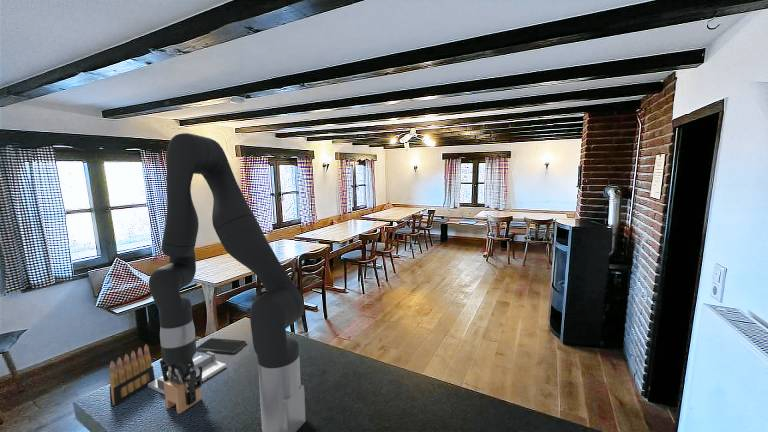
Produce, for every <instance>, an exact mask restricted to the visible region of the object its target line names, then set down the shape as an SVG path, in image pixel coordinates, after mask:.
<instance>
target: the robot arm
mask: <svg viewBox="0 0 768 432" xmlns="http://www.w3.org/2000/svg"><path fill="white" fill-rule="evenodd" d="M194 174H197V175H201V176H202V177H203V178H204V180H205V181H206V183H207V185H208V187H209V189H210V192H211V193H212V198H213V201H212V202H213V203H212V204H213V205H212V215H211V216H212V217H211V218H212V219H211V221H212V227H213V229H214V230H215V233H216V236H217V237H218V240H219V241H220V244H221V245H222V246H223V248H224V250H225V251H226V252H227V253H228V255H230V256H231V257H232V258H233V259H235V261H237V262H239V263H240V264H242V265H243V266H244V267H246V268H247V269H248V270H250V271H251V272H252V273H253V274H254V275H255V276H256V277H257V278H258V279H259V281H260V282H261V284H262V286H263V288H264V289H265V291H266V292H265V293H263V294H261V295H260V296H258V297H256V298H255V299H254V300H253V301H252V304H251V306H250V310H249V322H250V329H251V338H252V347H253V349H254V351H255V354H256V357H257V363H258V364H257V366H258V384H259V385H258V386H259V401H260V402H259V403H260V404H259V405H260V419H261V431H262V432H298V430H299V429H300V428H301V427H302V426H303V425H304V424H305V423H306V402H305V401H306V400H305V399H306V398H305V385H303V384H301V364H300V345H299V343H298V341H297V340H296V339H295V338H292V337H290V336H289V337H287V333H286V332H287V331H286V329H288V327H290V326H292V325H293V324H295V323H296V322H297V321H298V320H300V319H301V318H302V316H303V315H304V311H305V304H304V300H303V297H302V294H301V293H300V291H299V289H298V288H297V286H296V285H295V283H294V282H293V280H292V279H291V277H290V276H289V274H288V273H287V271H286V270H285V269H284V267H283V265H282V264H281V262H280V261H279V259H278V257H277V255H276V253H275V252H274V250H273V248H272V246H271V245H270V243H269V241H268V240H267V238H266V236H265V234H264V231H263V230H262V228H261V225H260V224H259V222H258V220H257V218H256V216H255V214H254V212H253V211H252V209H251V207H250V206H249V204H248V202H247V200H246V198H245V196H244V193H243V192H242V189H241V188H240V186H239V184H238V182H237V180H236V178H235V175H234V172H233V170H232V167H231V165H230V162H229V160H228V157H227V155H226V152H225V150H224V149H223V147H222V146H221V144H220V143H219V142H218V141H216V140H215V139H212V138H210V137H206V136H202V135H198V134H194V133H190V132H189V133H188V132H178V133H177V134H174V136H172V137H171V139H170V140H169V142H168V145H167V150H166V216H165V217H166V218H165V225H164V229H163V236H162V242H161V252H162V253H163V254H164V255H165V256H168V257H169V261H168V264H165V265H163V266H160V267H158V268H156V269H155V270H154V269H153V271H152V273H151V274H150V276H149V280H148V289H149V292H150V294H151V297H152V299H153V302H154V303H155V306H156V309H158V318H159V326H160V327H159V328H160V329H159V330H160V331H159V339H160V340H159V341H160V348H161V349H160V350H161V360H159V363H160V364H159V365H160V369H161V375H162V376H163V379H164V381H165V382H166V381H167V380H169V379H170V380H171V379H173V378H174V377H178V378H179V381H180V384H181V385H183V384H184V388H185V395H186V404H187V405H191V404H192V403H194V402H195V401H196V390H197V389H198V388H200V387H202V384H203V382H202V367H201V366H200V367H198V368H196V367H195V366H194V362H193V358H194V356H195V355H196V353H197V351H196V348H197V342H196V341H197V340H196V331H195V330H196V328H195V324H194V319H193V318H194V317H193V307H192V302H191V300H190V299H189V298H187V297H183V296H181V293H180V292H181V290H182V289H183V288H185V287H187V286H189V285H190V284H191V283H192V281H193V280H194V278H195V275H196V271H197V262H196V253H195V248H196V247H195V246H196V244H197V243H196V242H197V237H198V233H199V217H198V214H197V210H196V207H195V205H194V201H193V198H192V194H191V193H192V192H191V189H192V181H193V176H194ZM167 373H168V376H167ZM187 376H189V378H187V379H185V380H184V378H186V377H187ZM189 381H190V386H188V382H189ZM196 383H197V384H196Z"/></svg>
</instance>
